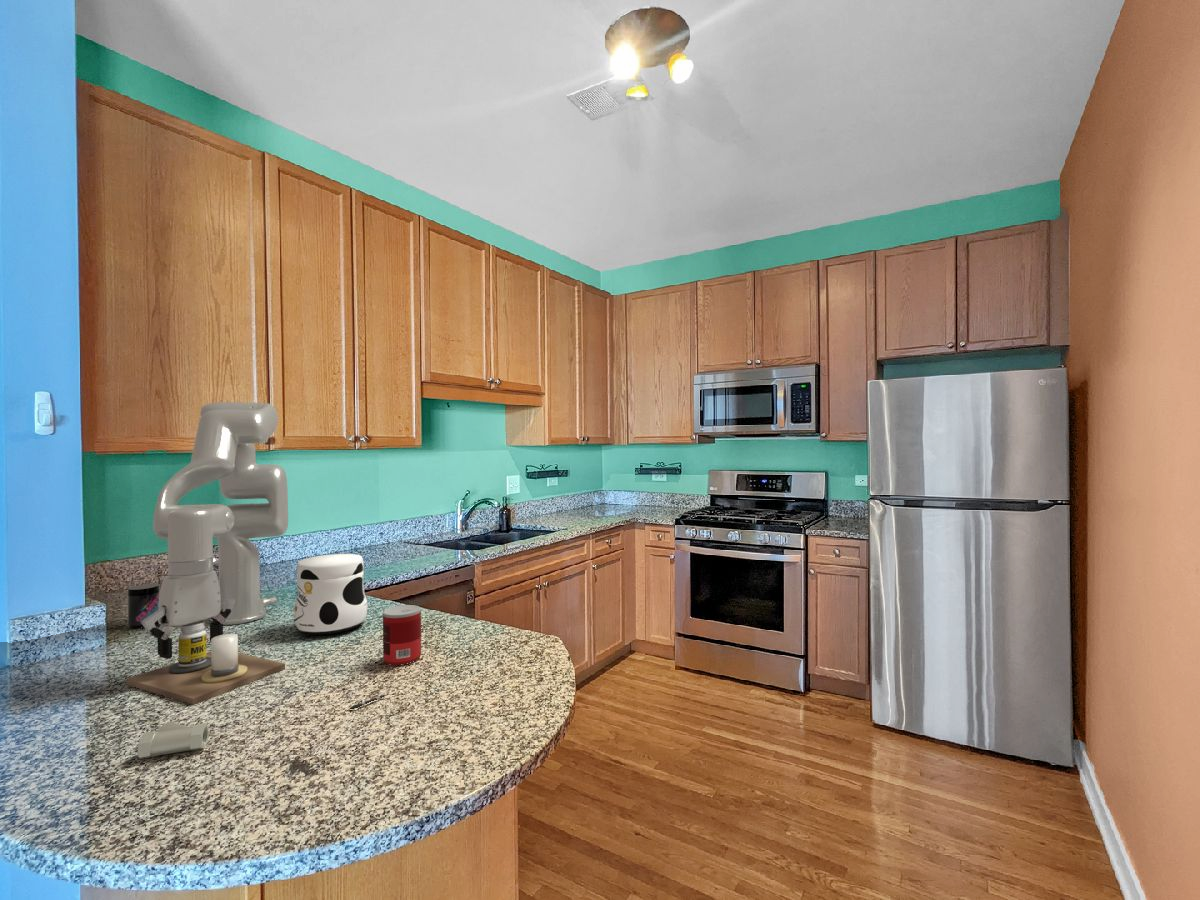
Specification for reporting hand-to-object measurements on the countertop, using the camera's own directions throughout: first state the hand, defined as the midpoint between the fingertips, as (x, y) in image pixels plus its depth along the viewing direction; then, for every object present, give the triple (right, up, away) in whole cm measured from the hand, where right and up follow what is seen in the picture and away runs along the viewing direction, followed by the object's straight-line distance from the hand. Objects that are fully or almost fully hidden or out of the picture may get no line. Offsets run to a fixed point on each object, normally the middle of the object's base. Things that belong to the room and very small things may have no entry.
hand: (191, 649), depth 116 cm
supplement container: (-36, -5, +32) cm, 49 cm away
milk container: (+16, -5, +28) cm, 32 cm away
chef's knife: (+48, -5, -11) cm, 49 cm away
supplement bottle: (0, -3, 0) cm, 3 cm away
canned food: (+42, -5, +6) cm, 43 cm away
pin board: (+5, -5, -2) cm, 7 cm away
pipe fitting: (+19, -5, -29) cm, 35 cm away
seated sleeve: (+10, -3, -5) cm, 11 cm away
